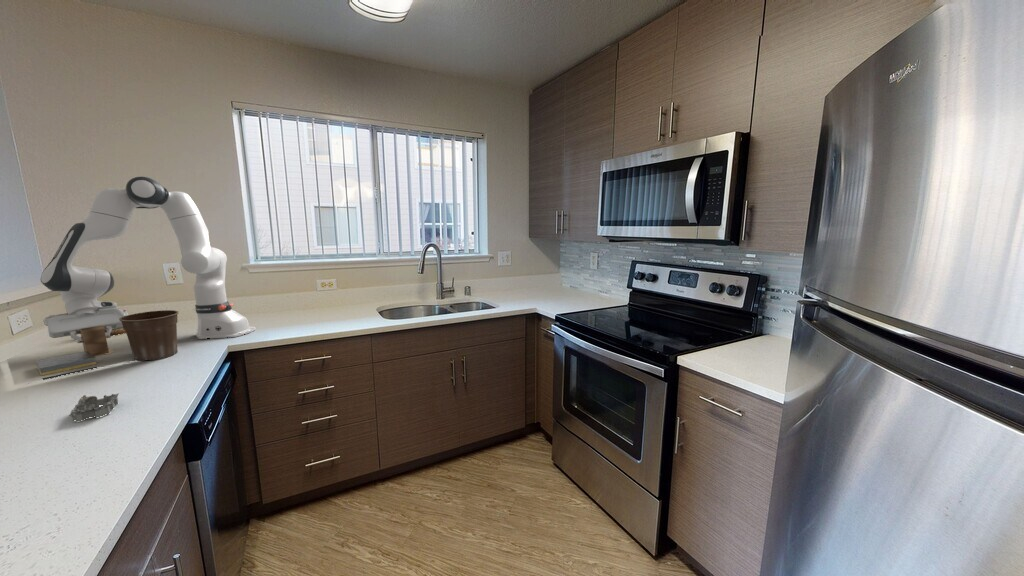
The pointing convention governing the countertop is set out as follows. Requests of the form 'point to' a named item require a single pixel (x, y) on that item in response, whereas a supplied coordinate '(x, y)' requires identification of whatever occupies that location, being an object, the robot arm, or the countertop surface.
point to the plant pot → (152, 334)
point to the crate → (94, 340)
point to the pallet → (106, 353)
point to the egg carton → (93, 407)
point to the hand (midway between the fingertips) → (94, 339)
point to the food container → (118, 330)
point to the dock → (65, 363)
